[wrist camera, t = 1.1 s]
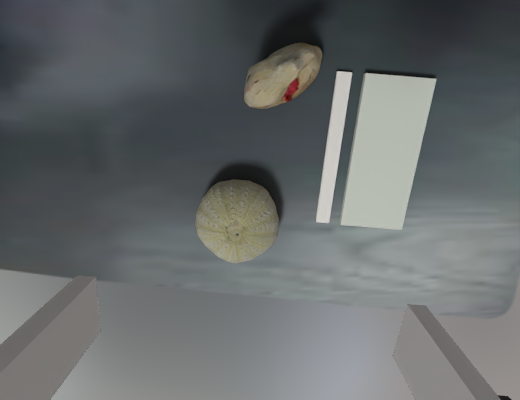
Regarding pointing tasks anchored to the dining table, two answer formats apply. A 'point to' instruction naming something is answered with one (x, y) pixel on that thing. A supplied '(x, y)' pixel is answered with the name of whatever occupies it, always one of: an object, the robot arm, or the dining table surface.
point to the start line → (333, 145)
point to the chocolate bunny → (282, 75)
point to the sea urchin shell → (237, 220)
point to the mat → (385, 149)
